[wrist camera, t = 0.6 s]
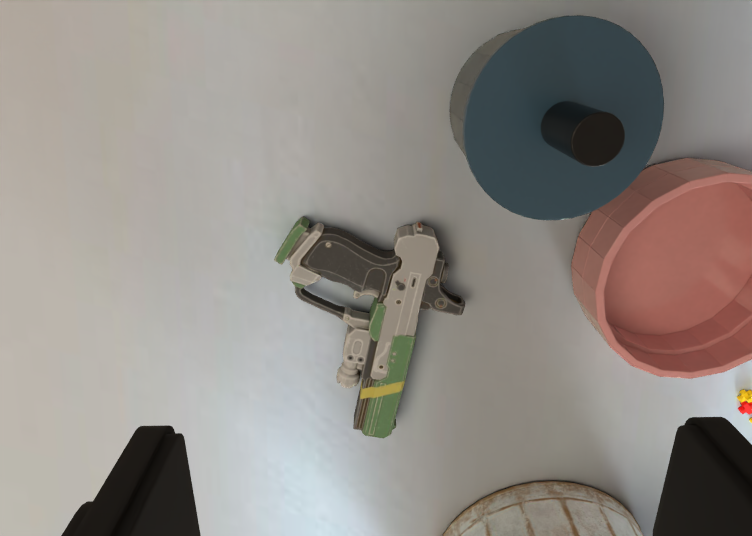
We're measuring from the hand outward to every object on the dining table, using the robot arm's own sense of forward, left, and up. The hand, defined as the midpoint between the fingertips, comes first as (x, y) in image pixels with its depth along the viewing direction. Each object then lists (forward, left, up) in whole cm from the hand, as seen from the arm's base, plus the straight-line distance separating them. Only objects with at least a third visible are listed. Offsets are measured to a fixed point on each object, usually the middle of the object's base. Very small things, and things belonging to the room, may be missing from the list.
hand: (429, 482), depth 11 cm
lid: (-1, +10, -24) cm, 26 cm away
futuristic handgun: (+13, -5, -33) cm, 35 cm away
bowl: (+13, +20, -32) cm, 40 cm away
